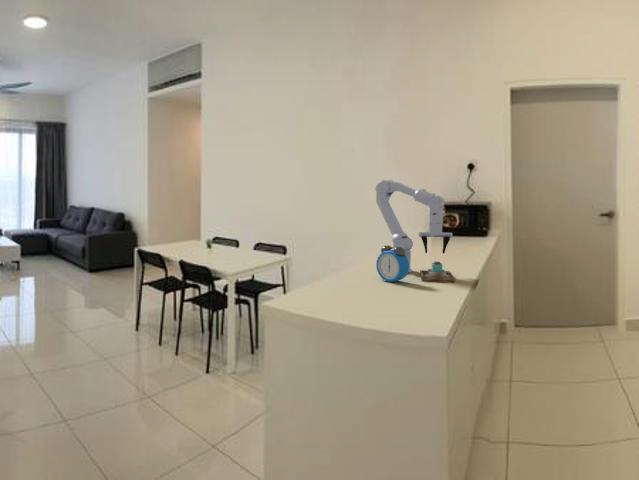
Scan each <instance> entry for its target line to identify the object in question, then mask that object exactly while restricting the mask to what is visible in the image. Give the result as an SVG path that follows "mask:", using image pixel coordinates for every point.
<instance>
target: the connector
mask: <svg viewBox="0 0 639 480" xmlns="http://www.w3.org/2000/svg"><path fill="white" fill-rule="evenodd" d="M431 269H432V272H442V270H443V263H441V261H433V262H432V263H431Z"/></svg>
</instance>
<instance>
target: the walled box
mask: <svg viewBox="0 0 639 480" xmlns="http://www.w3.org/2000/svg"><path fill="white" fill-rule="evenodd" d="M419 276H420V280H421V282H428V283H429V282H433V283H434V282H435V283H454V282H455V276H454V275H453V274H452V272H451V271H450V270H449V271H448V270H446V269H442V272H432V268H428V269H427V270H423V269H422V270H421V269H420V270H419Z"/></svg>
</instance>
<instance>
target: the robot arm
mask: <svg viewBox="0 0 639 480" xmlns="http://www.w3.org/2000/svg"><path fill="white" fill-rule="evenodd" d="M374 189H375V192H376V193H375V194H376V195H375V197H376V199H375V200H376V201H375V202H376V204H377V206H378V208H379V210H380V212H381V215H382V216H383V218H384V221H385V223H386V226H387V227H388V229H389V231H390V234H391V236H392V238H391V241H392V243H393V244H392V245H393V246H392V247H393V250H394V249H395V248H396V247H402V248H403V249H404V250H405V256H406V257H407V259H408V262H409V270H408V273H412V268H411V262H412V261H411V260H412V259H411V255H412V251H411V249H412V247H413V246H414V243H413V240H412V239H411V238H410V237H409V236H408V234H407V233H406V232H405V231H403V228H402V227H401V225H400V223H399V220H398V218H397V216H396V214H395V212H394V210H393V208H392V206H391V204H390V198H391V196H393V194H394V192H400V193H402V194H405V195H408V196H410V197H413V199H414V201H415V202H418V203H420V204H421V205H425V206H427V207H429V222H428V223H429V225H428V228H429V229H428V231H427V232H426V231H424V232H423V231H420V232H418V237H419V238H421V241H422V244H423V247H424V252H425V254H427V253H428V238H442V254H445V252H446V250H447V247H448V245H449V242H450V240H451V238H453V232H444V231H443V217H444V216H443V215H444V213H443V212H444V207H445V204H446V203H445V199H444V198H443V197H442V196H441V195H436V193H431V192H429V191H427V190H426V189H425V188H421V189H420V188H419V189H415V188H412V187H410V186H409V185H405V184H404V183H401V182H400V181H394V180H392V179H388V180H387V179H386V180H385V179H381V180H379V181H378V182H377V184H376V186H375V188H374Z"/></svg>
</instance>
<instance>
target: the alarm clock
mask: <svg viewBox="0 0 639 480" xmlns="http://www.w3.org/2000/svg"><path fill="white" fill-rule="evenodd" d="M408 270H409V262H408V259H407V257H406V256H405V250H404V249H403V248H402V247H396V248H395V249H394V247H393V246H391V245H388V244H387V245H384V246H383V247H381V249H380V254H379V255H378V257H377V260H376V271H377V273H378V275H379V277H380V278H381V279H382V281H385V282H388V283H393V282H394V284H397V281H400V280H403V279H405V278H406V276H407V275H408V273H409V272H408Z"/></svg>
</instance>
